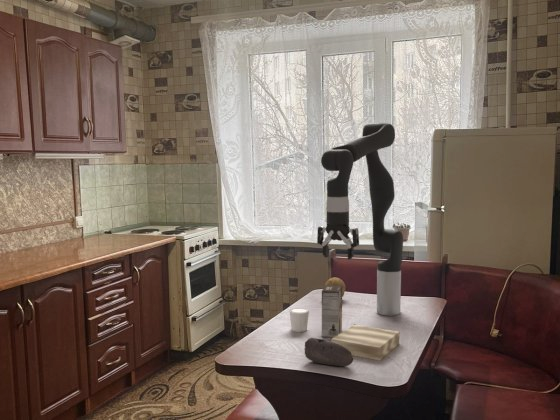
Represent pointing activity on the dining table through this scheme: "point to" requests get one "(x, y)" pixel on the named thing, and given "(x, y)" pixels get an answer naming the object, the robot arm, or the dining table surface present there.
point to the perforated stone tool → (327, 352)
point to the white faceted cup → (299, 319)
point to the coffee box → (331, 311)
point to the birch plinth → (368, 341)
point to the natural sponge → (336, 283)
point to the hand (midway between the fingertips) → (338, 258)
